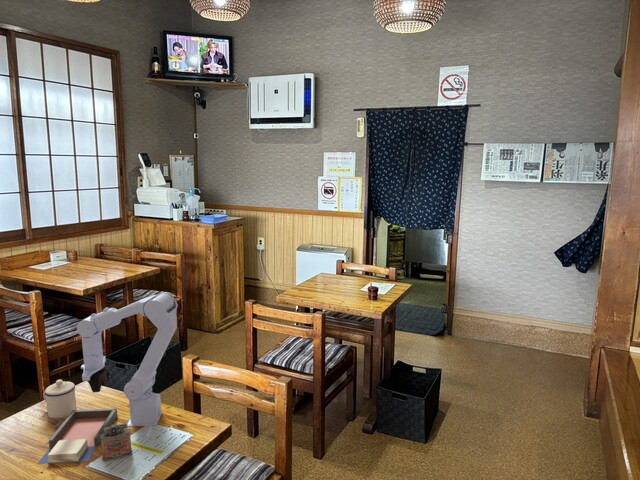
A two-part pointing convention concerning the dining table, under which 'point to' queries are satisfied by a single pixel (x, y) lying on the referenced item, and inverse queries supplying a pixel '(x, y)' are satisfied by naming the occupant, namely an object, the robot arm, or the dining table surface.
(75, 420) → the grey and pink tray
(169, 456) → the dining table surface
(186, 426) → the dining table surface
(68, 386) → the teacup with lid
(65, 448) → the slab
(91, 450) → the indigo mat
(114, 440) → the lighter
